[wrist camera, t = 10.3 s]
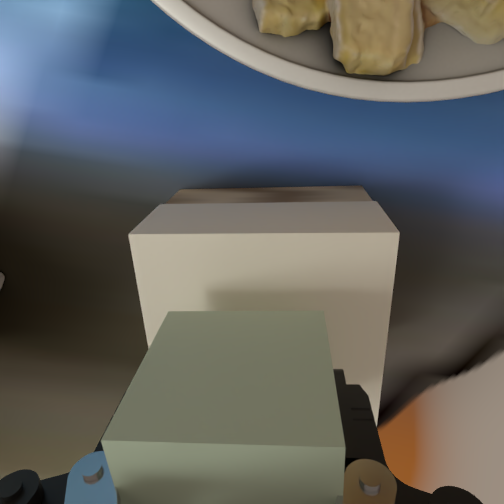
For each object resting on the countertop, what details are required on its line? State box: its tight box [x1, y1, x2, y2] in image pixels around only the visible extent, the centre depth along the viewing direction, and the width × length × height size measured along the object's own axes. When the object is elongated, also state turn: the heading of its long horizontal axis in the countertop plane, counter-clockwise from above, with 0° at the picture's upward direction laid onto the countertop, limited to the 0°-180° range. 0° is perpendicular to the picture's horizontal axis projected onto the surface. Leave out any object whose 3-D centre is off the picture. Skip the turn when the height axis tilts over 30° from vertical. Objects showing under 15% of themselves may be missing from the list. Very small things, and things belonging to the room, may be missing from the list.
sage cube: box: [101, 311, 346, 504], centre depth 12 cm, size 6×6×6 cm
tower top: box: [128, 201, 400, 427], centre depth 18 cm, size 10×10×4 cm
